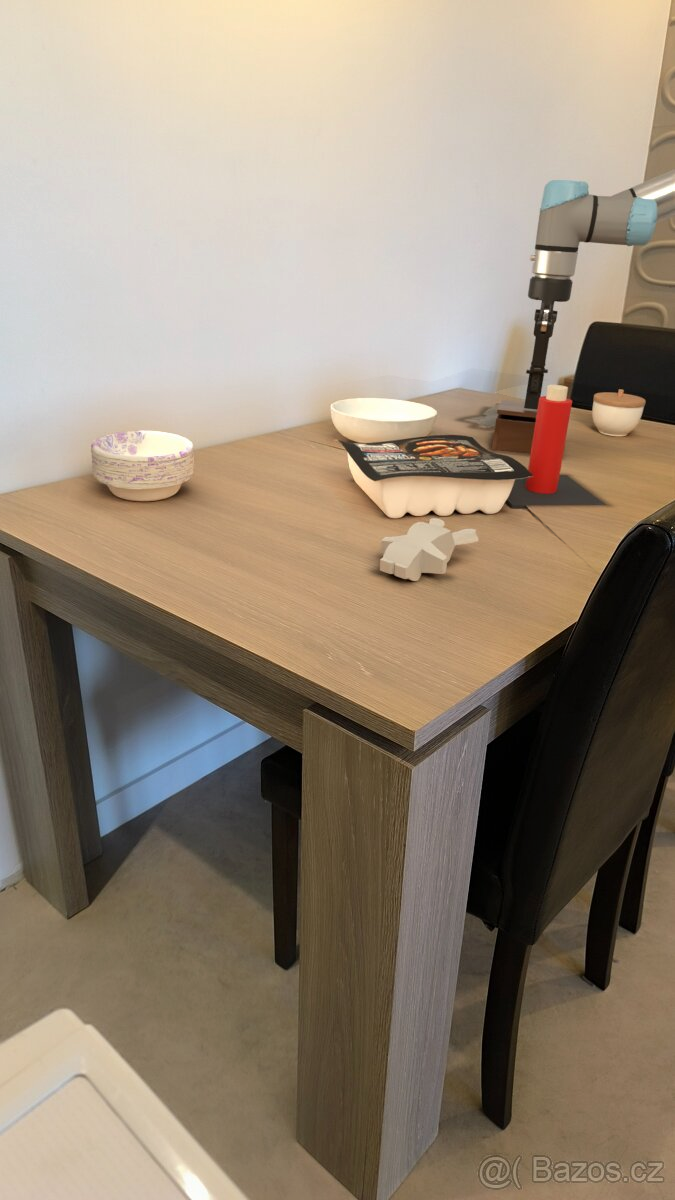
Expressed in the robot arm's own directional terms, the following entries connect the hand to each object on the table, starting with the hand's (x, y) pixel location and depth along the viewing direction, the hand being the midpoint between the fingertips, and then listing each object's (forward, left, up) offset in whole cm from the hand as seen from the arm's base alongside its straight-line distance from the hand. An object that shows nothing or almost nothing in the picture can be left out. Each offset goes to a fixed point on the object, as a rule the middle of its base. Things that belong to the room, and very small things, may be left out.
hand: (531, 408), depth 158 cm
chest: (-2, -3, -9) cm, 9 cm away
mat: (+6, +25, -9) cm, 27 cm away
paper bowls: (+71, +25, -9) cm, 76 cm away
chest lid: (-1, -3, -1) cm, 3 cm away
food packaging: (+27, +28, -9) cm, 40 cm away
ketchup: (+6, +25, -8) cm, 27 cm away
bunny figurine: (+34, +55, -9) cm, 65 cm away
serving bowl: (+27, -6, -9) cm, 30 cm away
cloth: (-4, -26, -9) cm, 28 cm away
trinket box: (-27, -16, -9) cm, 32 cm away
